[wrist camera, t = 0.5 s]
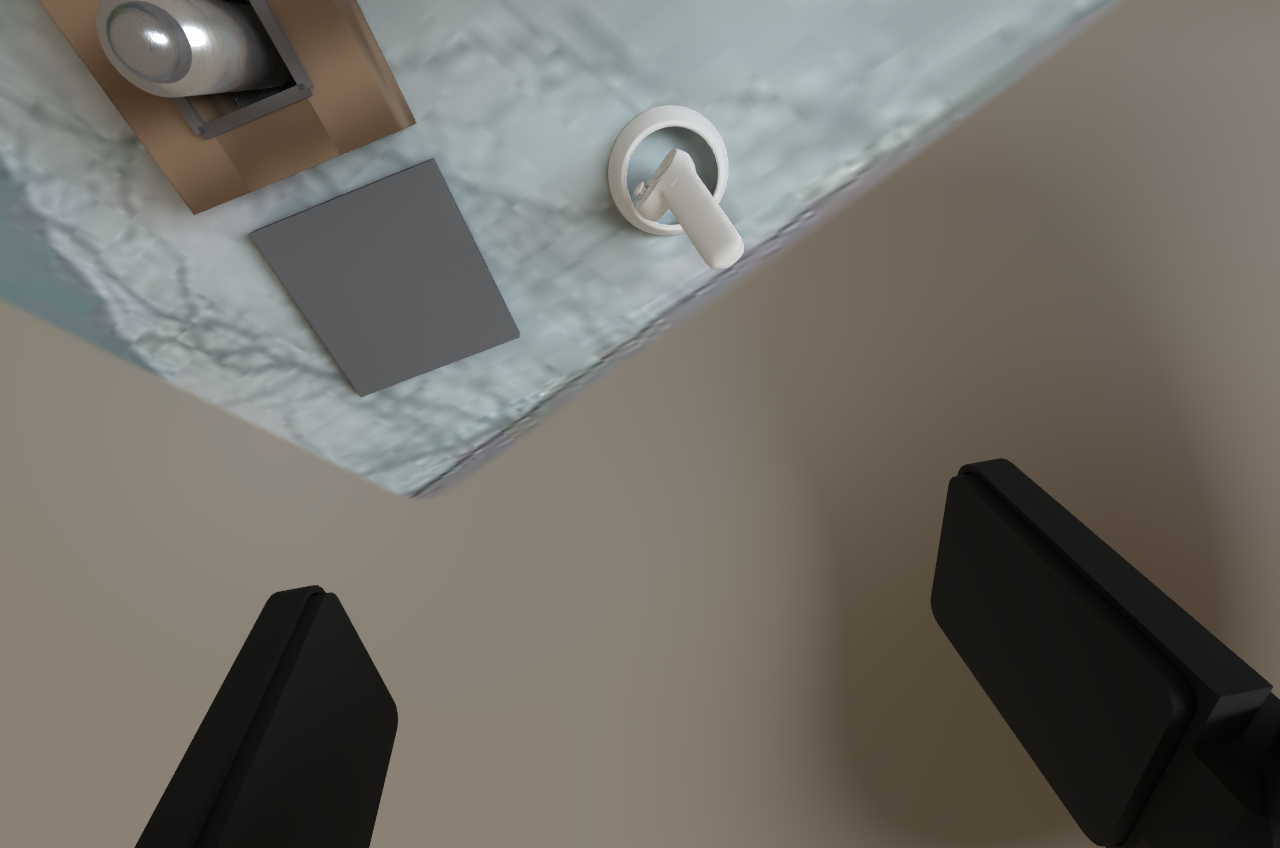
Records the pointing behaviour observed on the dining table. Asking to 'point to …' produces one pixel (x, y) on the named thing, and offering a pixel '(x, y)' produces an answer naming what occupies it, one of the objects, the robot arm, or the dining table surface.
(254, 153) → the block
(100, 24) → the steel peg
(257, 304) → the dining table surface
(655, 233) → the white ring with handle
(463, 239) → the mat
